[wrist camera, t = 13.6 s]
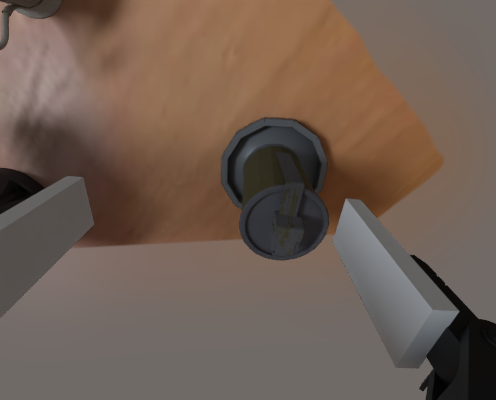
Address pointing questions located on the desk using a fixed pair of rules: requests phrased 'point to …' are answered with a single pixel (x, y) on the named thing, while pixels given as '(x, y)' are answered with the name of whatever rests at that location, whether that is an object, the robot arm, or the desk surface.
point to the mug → (26, 12)
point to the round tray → (272, 133)
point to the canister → (280, 205)
